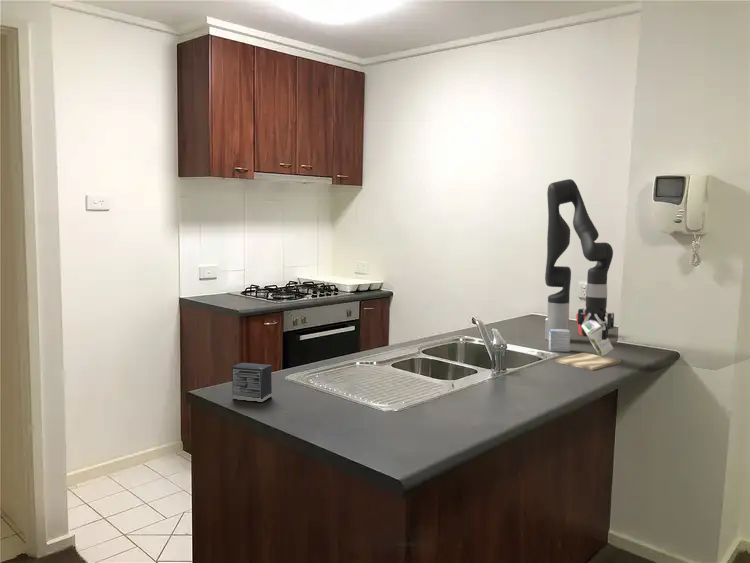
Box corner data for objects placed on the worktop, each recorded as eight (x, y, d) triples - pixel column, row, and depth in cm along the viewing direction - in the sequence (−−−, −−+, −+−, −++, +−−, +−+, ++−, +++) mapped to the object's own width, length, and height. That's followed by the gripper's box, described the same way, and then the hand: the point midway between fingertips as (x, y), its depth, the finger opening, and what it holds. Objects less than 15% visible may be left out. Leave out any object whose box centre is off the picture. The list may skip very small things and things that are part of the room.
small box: (273, 397, 190) (272, 364, 189) (262, 403, 184) (261, 369, 183) (243, 394, 193) (242, 361, 192) (231, 400, 187) (230, 366, 186)
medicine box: (567, 349, 257) (568, 329, 256) (569, 352, 253) (570, 331, 252) (548, 349, 258) (548, 328, 257) (550, 351, 254) (550, 330, 253)
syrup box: (594, 348, 243) (580, 325, 236) (607, 340, 242) (593, 317, 235) (601, 357, 238) (587, 334, 231) (614, 348, 237) (601, 325, 230)
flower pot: (589, 338, 281) (589, 317, 280) (570, 334, 291) (571, 313, 290) (604, 335, 287) (605, 315, 286) (586, 332, 296) (586, 312, 295)
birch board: (554, 362, 236) (555, 359, 236) (583, 355, 247) (583, 352, 247) (592, 370, 223) (592, 367, 223) (620, 362, 235) (620, 360, 235)
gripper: (574, 294, 237) (572, 336, 238) (608, 298, 225) (606, 342, 227) (585, 292, 241) (583, 333, 243) (619, 296, 230) (617, 339, 232)
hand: (594, 337), depth 235 cm, fingers closed on syrup box, 7 cm apart
